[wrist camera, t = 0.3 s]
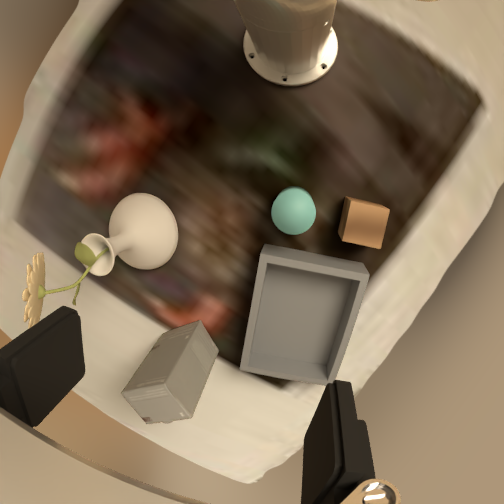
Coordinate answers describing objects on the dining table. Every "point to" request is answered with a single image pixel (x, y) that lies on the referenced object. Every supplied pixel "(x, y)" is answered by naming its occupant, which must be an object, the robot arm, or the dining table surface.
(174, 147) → the dining table surface
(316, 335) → the tote
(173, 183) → the dining table surface
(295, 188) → the mint rounded capsule part
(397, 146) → the dining table surface
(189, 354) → the skincare box
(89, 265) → the flower in vase
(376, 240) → the walnut cube
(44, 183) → the dining table surface
